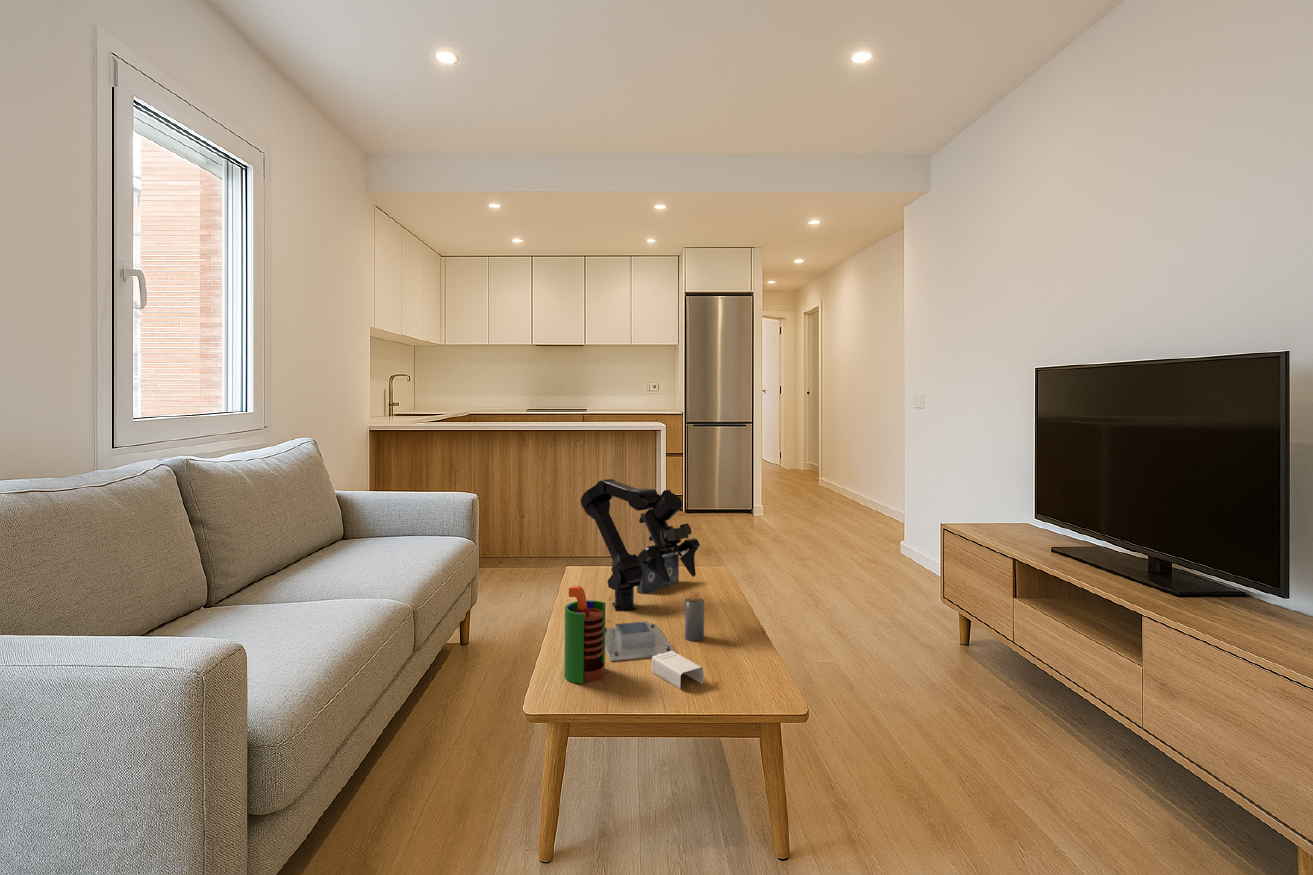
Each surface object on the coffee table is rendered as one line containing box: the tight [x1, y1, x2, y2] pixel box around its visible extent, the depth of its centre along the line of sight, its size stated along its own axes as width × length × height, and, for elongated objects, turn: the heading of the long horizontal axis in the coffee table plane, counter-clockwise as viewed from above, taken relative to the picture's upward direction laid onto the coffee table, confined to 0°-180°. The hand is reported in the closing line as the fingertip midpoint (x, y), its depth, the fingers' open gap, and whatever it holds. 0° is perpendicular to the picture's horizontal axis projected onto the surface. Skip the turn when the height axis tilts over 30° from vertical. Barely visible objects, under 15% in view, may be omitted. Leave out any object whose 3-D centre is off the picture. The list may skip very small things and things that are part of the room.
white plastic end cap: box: [651, 651, 705, 690], centre depth 148 cm, size 6×13×4 cm, turn 34°
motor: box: [563, 585, 606, 685], centre depth 149 cm, size 10×9×20 cm
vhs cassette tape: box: [636, 553, 680, 595], centre depth 219 cm, size 18×3×10 cm, turn 136°
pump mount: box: [605, 621, 676, 662], centre depth 169 cm, size 20×16×4 cm
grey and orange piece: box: [684, 591, 705, 643], centre depth 172 cm, size 5×5×12 cm
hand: (681, 578), depth 178 cm, fingers open, 9 cm apart
